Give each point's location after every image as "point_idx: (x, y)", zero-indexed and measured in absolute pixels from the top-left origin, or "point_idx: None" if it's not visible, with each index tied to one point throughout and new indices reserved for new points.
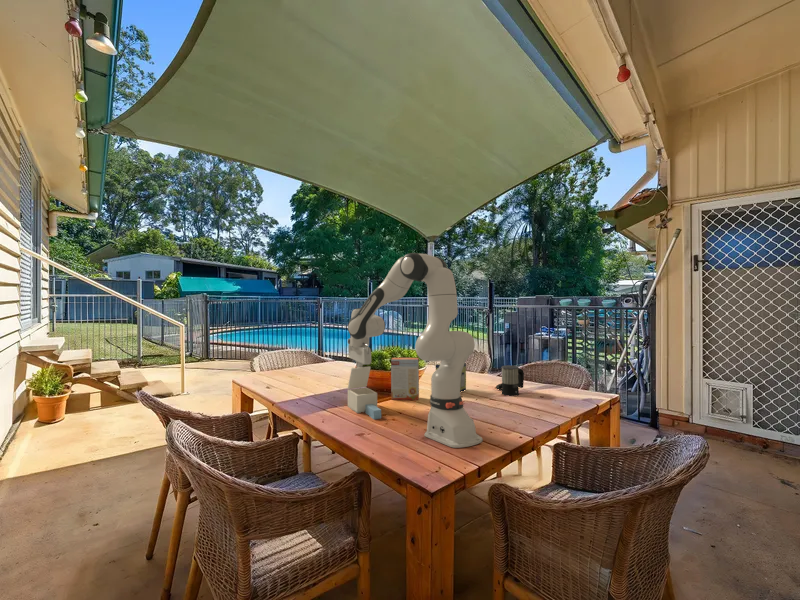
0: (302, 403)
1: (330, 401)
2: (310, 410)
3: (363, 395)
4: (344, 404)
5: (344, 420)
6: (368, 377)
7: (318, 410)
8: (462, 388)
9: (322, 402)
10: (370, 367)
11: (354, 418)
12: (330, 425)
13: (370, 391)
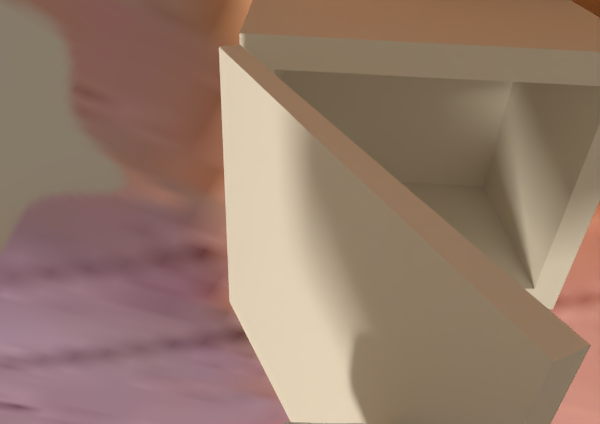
0: (31, 389)
1: (33, 241)
2: (222, 395)
3: (575, 239)
4: (178, 182)
5: (566, 318)
6: (334, 127)
7: (248, 365)
8: None
9: (46, 294)
10: (571, 339)
11: (586, 258)
12: (578, 396)
13: (462, 74)
